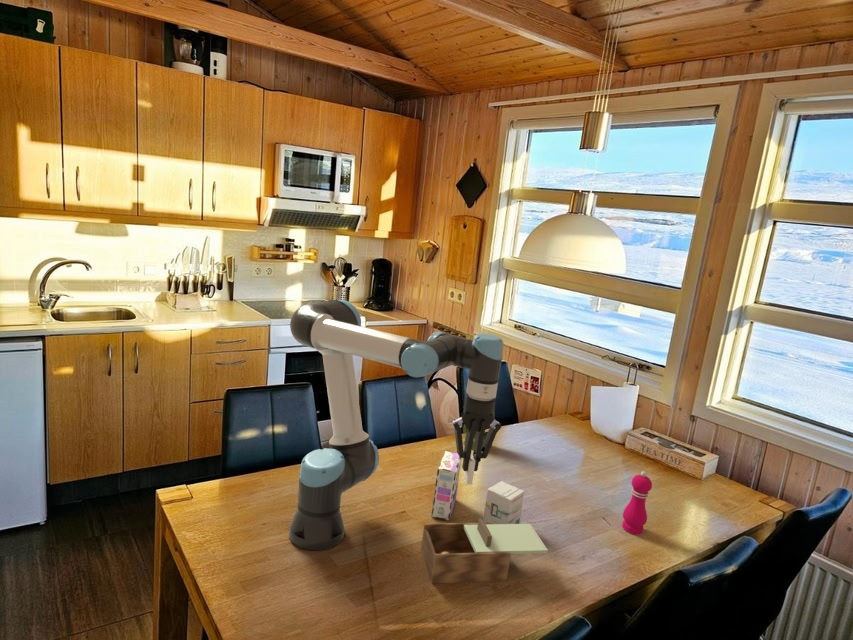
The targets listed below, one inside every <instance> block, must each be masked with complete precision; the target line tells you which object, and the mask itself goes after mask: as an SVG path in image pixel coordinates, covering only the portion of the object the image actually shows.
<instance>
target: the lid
mask: <svg viewBox="0 0 853 640" xmlns="http://www.w3.org/2000/svg"><path fill="white" fill-rule="evenodd" d="M477 523H478V525H464V527H463V528H464V530H465V532H466V534H467V536H468V539H469V541H470V543H471V545H472V547H473V549H474V551H475V553H485V552H511V555H534V554H535V555H536V554H548V553H549V550H548V548H547V546H546V545H545V544H544V542H543V541H542V539H541V538H540V536H539V535H538V534H537V532H536V530H535V529H534V528H533V526H532V524H531V523H519V524H485V523H486V522H484V520H483V518H478V520H477Z"/></svg>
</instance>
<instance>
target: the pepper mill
mask: <svg viewBox="0 0 853 640" xmlns="http://www.w3.org/2000/svg"><path fill="white" fill-rule="evenodd" d="M631 487H632V488H631V492H630V493H631V499H630V500H629V502H628V504H627V505H626V506H625V508H624V509H623V513H622V518H623V520H622V524H621V526H622V529H623V528H624V529H623V530H624V531H625V530H626V531H625V532H627V533H628V532H629V534H631V533H632V534H631V535H635V534H639V535H642V534H643V532H644V525H646V523H647V520H648V513H647V510H646V500H647V498H649V492H650V491H651V490H652V489H653V488H652V487H653V483H652V479H650V477H648V474H647V472H646V471H644V470H643V471H641V472H640V474H637V475H636V474H635V475H634V476H633V477H632V479H631ZM641 533H642V534H641Z"/></svg>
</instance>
